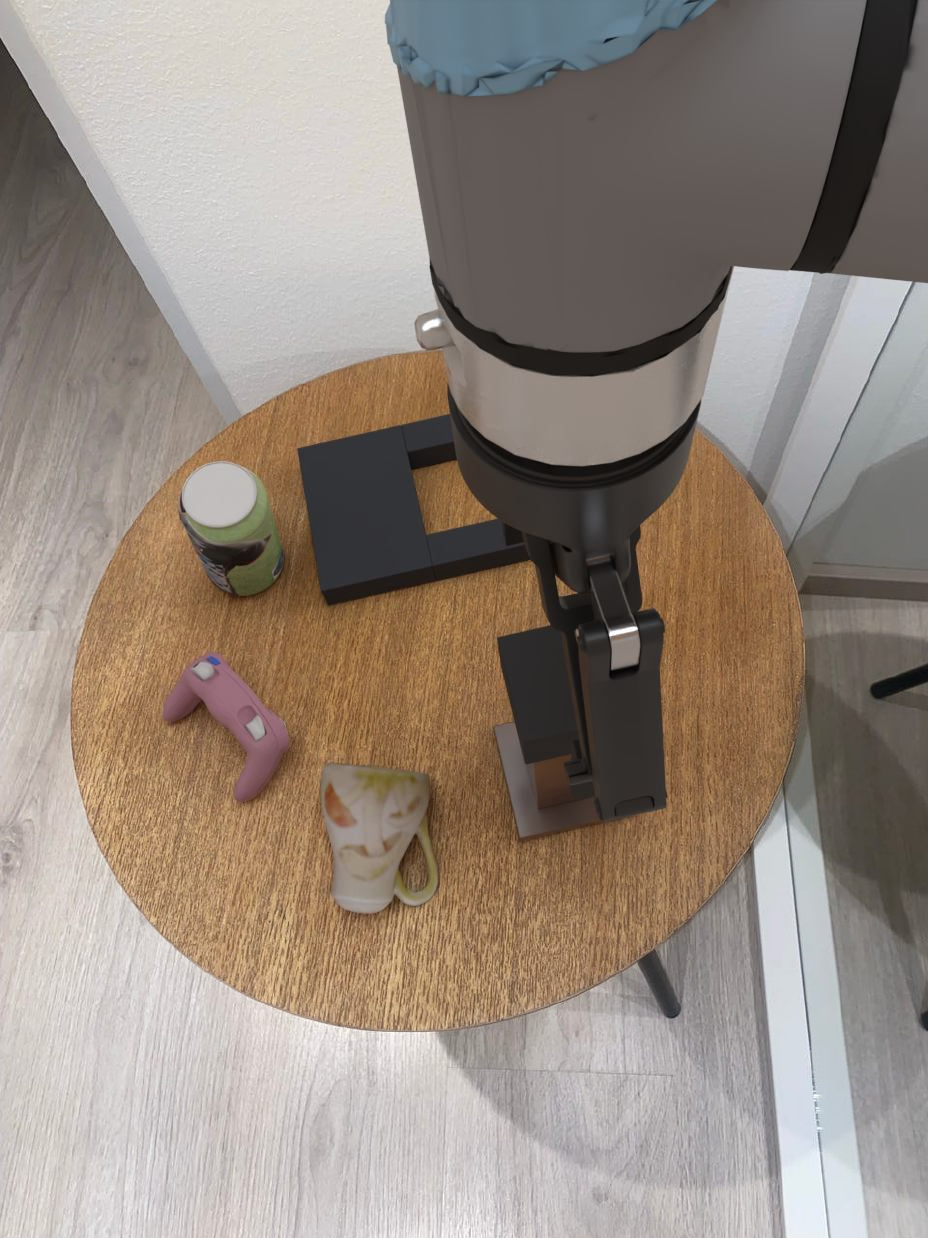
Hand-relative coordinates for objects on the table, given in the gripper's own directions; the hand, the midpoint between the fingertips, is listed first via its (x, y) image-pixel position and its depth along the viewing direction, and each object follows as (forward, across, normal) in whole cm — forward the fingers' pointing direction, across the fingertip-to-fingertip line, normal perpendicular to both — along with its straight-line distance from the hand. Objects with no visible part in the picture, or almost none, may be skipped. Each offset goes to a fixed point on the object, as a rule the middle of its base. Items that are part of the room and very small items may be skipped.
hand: (562, 652), depth 47 cm
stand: (+21, 0, 0) cm, 21 cm away
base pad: (+21, -23, -6) cm, 32 cm away
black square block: (+7, 0, 0) cm, 7 cm away
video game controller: (+21, -8, -22) cm, 31 cm away
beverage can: (+21, -21, -19) cm, 35 cm away
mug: (+21, +2, -13) cm, 25 cm away
